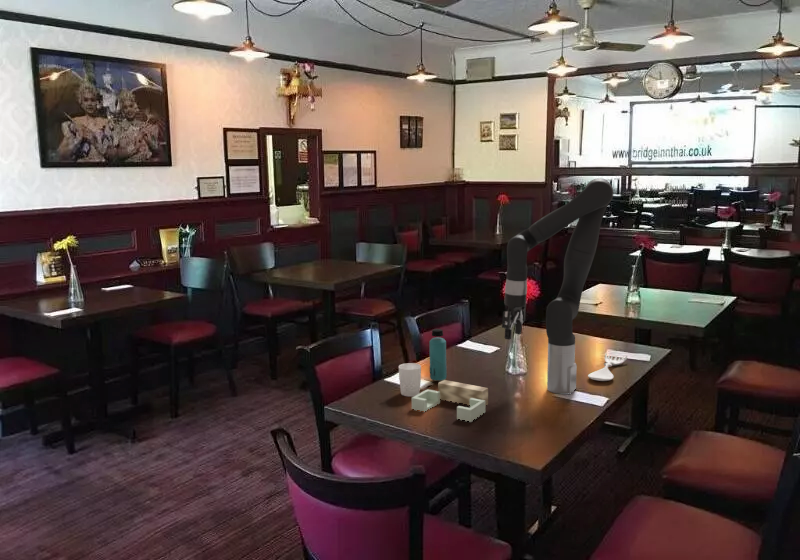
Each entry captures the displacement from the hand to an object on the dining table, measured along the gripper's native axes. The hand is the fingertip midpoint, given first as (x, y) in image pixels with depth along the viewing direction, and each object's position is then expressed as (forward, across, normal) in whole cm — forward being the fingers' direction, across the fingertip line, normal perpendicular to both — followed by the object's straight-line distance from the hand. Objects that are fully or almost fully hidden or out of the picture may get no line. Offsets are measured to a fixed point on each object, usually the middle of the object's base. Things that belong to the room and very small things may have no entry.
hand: (512, 336), depth 236 cm
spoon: (+18, +35, -24) cm, 46 cm away
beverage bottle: (+21, -8, +25) cm, 33 cm away
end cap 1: (+20, -32, +15) cm, 41 cm away
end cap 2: (+19, -32, -2) cm, 37 cm away
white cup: (+21, -24, +27) cm, 42 cm away
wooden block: (+20, -22, +7) cm, 30 cm away
